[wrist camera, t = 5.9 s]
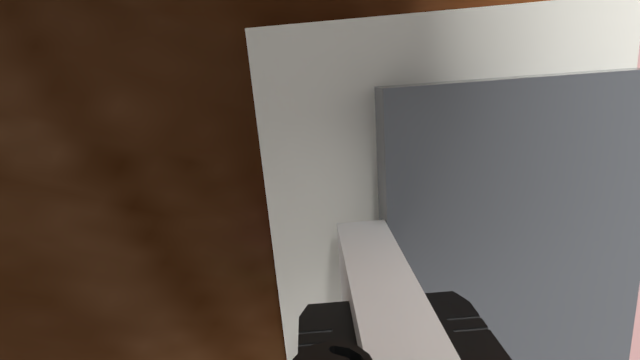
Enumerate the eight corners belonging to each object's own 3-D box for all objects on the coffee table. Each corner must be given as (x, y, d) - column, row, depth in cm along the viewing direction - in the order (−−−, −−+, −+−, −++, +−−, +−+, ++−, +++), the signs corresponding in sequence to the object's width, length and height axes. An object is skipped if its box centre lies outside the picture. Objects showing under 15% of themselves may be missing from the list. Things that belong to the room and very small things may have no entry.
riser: (252, 34, 14) (244, 28, 12) (599, 2, 14) (645, -8, 12) (295, 377, 18) (293, 415, 16) (571, 350, 18) (604, 384, 16)
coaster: (374, 86, 13) (382, 88, 11) (628, 68, 13) (669, 67, 11) (384, 362, 15) (392, 392, 14) (597, 344, 15) (627, 372, 14)
